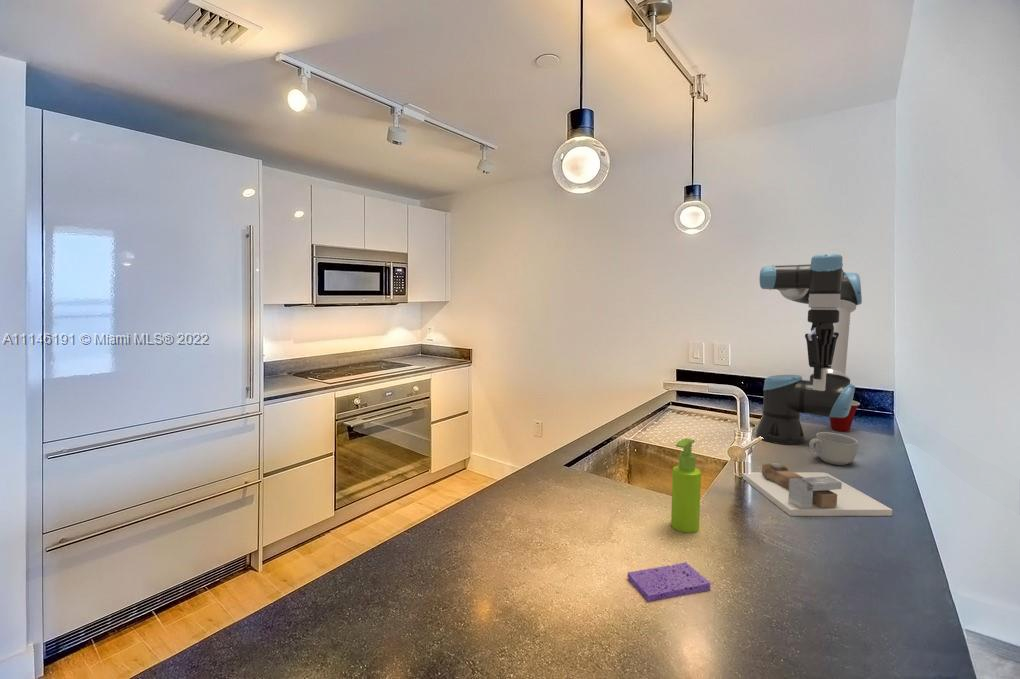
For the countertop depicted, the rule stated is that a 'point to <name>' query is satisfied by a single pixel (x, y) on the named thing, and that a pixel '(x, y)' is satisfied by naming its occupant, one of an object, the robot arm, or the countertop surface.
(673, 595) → the sponges
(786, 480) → the latch
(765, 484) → the base board
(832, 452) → the teacup
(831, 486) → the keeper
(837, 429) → the plastic cup
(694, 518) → the soap dispenser
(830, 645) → the countertop surface
